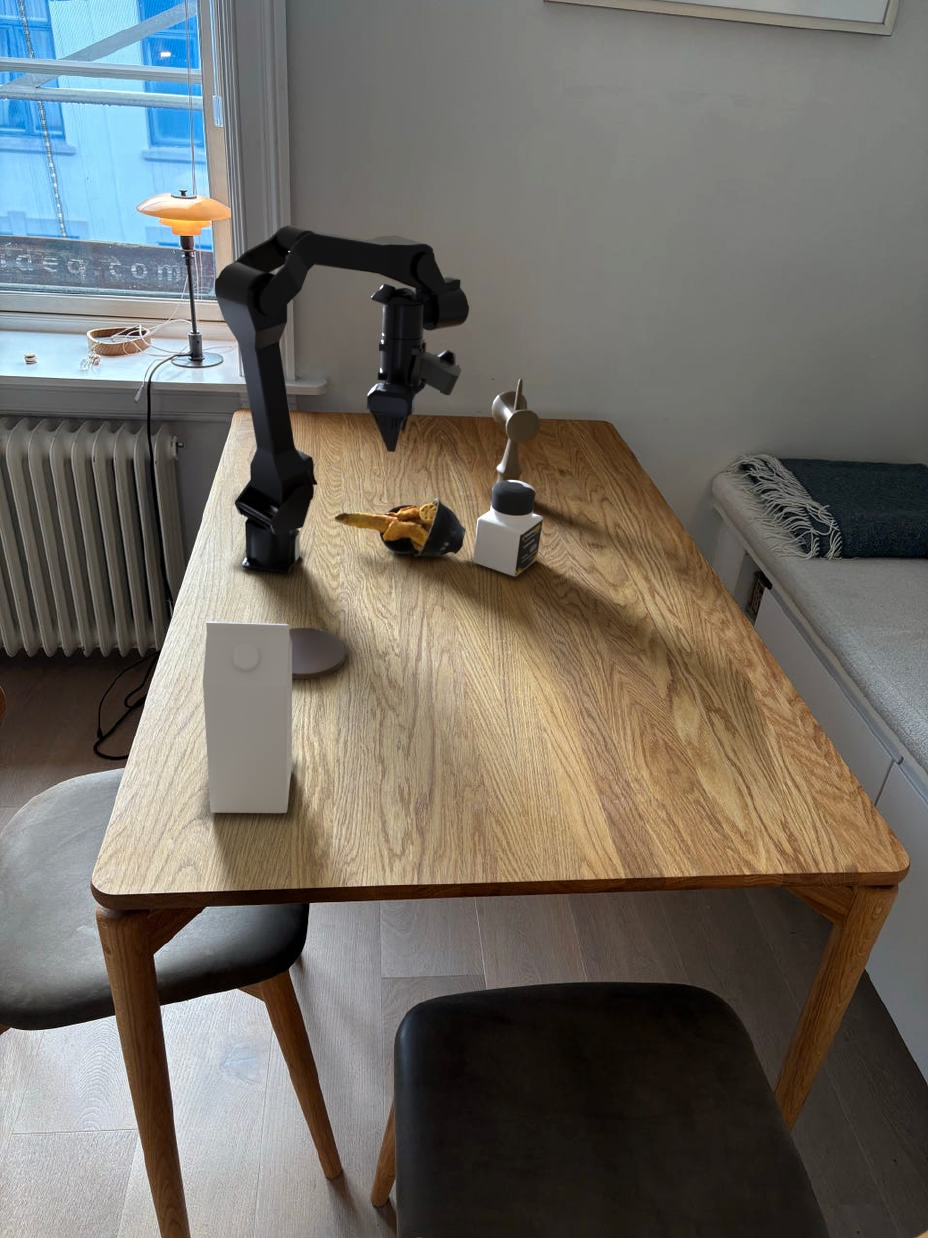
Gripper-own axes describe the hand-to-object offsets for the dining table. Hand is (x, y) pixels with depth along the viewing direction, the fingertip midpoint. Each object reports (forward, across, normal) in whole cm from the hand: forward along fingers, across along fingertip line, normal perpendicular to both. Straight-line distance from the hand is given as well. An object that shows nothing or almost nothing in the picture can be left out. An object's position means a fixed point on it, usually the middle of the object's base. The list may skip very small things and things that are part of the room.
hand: (396, 440), depth 141 cm
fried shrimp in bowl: (+13, -9, -3) cm, 16 cm away
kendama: (+13, +15, -17) cm, 26 cm away
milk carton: (+13, -64, +3) cm, 65 cm away
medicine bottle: (+13, -9, -18) cm, 24 cm away
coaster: (+13, -40, +4) cm, 42 cm away
